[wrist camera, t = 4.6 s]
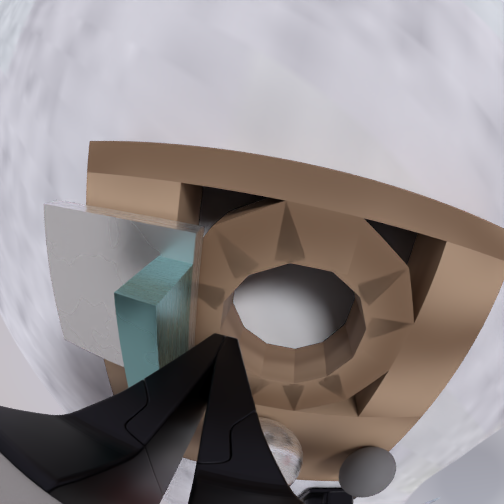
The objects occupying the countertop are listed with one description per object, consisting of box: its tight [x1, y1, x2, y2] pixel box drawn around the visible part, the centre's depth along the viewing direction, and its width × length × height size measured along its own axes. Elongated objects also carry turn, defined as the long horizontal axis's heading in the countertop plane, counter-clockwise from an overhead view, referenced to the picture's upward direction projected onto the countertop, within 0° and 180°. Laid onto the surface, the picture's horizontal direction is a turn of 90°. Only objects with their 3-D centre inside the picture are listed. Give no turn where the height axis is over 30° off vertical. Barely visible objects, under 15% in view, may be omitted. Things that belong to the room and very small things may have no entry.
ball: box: [259, 417, 303, 487], centre depth 10 cm, size 4×4×4 cm
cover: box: [44, 200, 204, 387], centre depth 9 cm, size 7×7×3 cm
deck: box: [86, 141, 504, 481], centre depth 13 cm, size 20×18×2 cm
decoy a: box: [339, 447, 396, 497], centre depth 11 cm, size 4×4×4 cm
